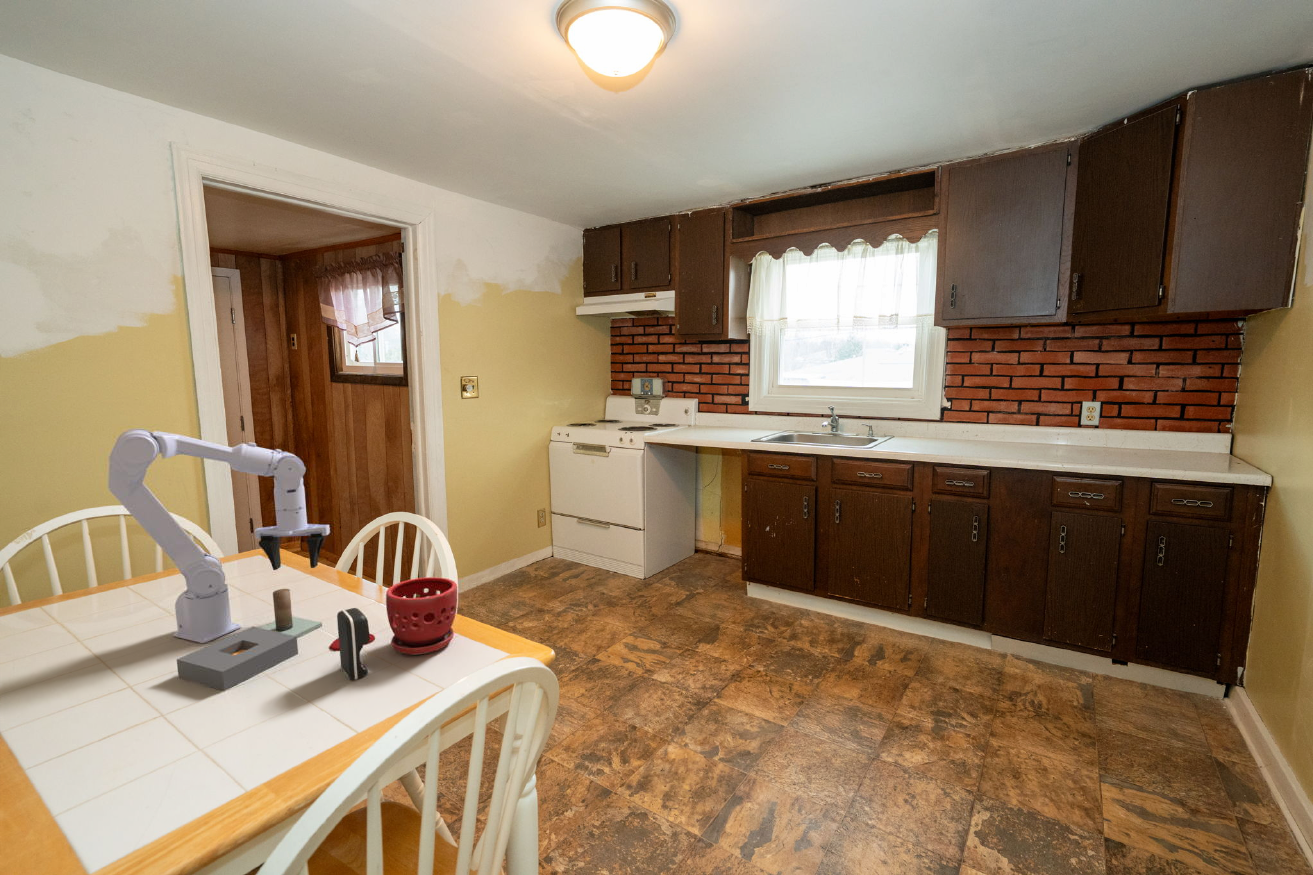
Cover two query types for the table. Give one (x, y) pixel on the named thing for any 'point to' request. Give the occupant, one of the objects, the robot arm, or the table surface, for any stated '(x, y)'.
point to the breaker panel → (237, 658)
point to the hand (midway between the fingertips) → (295, 567)
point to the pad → (296, 627)
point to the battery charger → (352, 641)
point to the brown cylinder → (282, 609)
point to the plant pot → (421, 614)
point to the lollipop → (335, 647)
